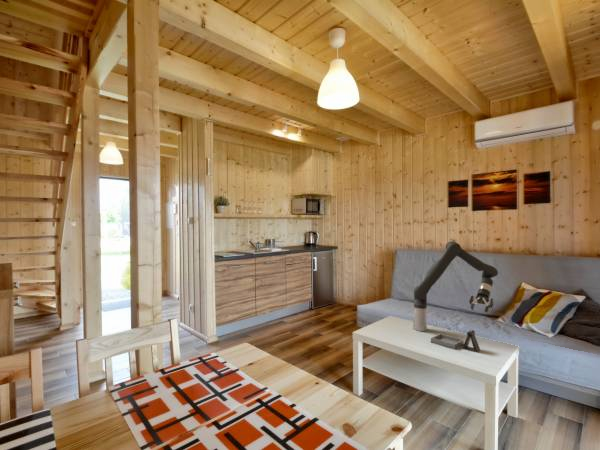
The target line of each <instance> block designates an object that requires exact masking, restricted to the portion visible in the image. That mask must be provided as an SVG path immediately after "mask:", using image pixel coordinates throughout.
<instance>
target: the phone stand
mask: <svg viewBox="0 0 600 450" xmlns="http://www.w3.org/2000/svg"><path fill="white" fill-rule="evenodd" d="M475 333H476V332H475V330H473V329H470V330H469V331H467V333H466V335H467V336H466V339H465V340H464V344H463V345H462V350H465V351H470V352H474V353H479V352H480V350H481V348H480V345H479V343H478V339H477V338H476V334H475ZM470 341H471V345H472V346H469V344H470Z"/></svg>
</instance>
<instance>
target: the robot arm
mask: <svg viewBox="0 0 600 450" xmlns="http://www.w3.org/2000/svg"><path fill="white" fill-rule="evenodd" d="M456 257H458V258H459V259H461V260H463V261H464V262H465V263H466V264H467V265H469V266H470V267H472V268H474V270H476V271H478V272H481V282H480V285H479V287H478V290H477V293H476V296H474V295H471V296H470V299H469V301H468V302H469V305H470V309H471V310H472V311H474V308H475V305H478V304H479V305H480V304H481V305H485V308H484V312H485V313H488V312H489V310H490V309H493V307H494V298H492V297H491V298H490V296H491V293H492V287H493V284H494V280H492V278H494V277H497V276H498V275H499V271H498V269H497V268H496V267H494V266H493V265H490V264H487V263H485V262H483V261H482V260H480V259H478V258H477V257H476V256H474V255H472V254H470V253H469V252H467V251H466V250H465V249H463V248H462V246H461V245H460V244H459V242H456V241H453V240H451V241H448V242H447V243H446V244H445V252H444V254H443V255H442V256H441V257H440V258H439V259H437V260H436V261H435V262H434V263H433V264H432V265H431V267H430V268H429V270H428V271H427V272H426V274H425V276H424V278H423V280H422V281H421V283H420V284H419V285H418V286H416V287H415V288H414V290H413V296H414V297H413V316H412V329H413V330H414V331H418V332H427V330H428V326H427V325H428V315H427V314H428V311H427V310H428V308H427V306H428V305H427V304H428V300H427V299H428V293H429V292H430V290H431V288H432V287H433V286H434V285H435V284H436V283H437V282H438V281H439V279H440V278H441V277H442V275H443V274H444V273H445V272H446V270H447V269H448V267H449V266H450V264H451V263H452V262H453V261H454V259H456ZM488 302H489V303H488Z"/></svg>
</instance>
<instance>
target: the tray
mask: <svg viewBox="0 0 600 450" xmlns="http://www.w3.org/2000/svg"><path fill="white" fill-rule="evenodd" d="M430 343H431V344H434V345H438V346H441V347H445V348H448V349H452V350H456V349H458V348H459V347H461V346H463V345H464V343H465V340H464V339H463V338H459V337H454V336H452V335H447V334H444V333H438V334H435V335H434V336H432V337H431V338H430Z"/></svg>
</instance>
